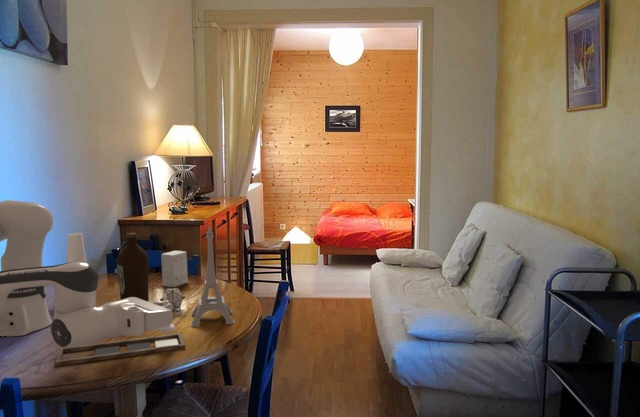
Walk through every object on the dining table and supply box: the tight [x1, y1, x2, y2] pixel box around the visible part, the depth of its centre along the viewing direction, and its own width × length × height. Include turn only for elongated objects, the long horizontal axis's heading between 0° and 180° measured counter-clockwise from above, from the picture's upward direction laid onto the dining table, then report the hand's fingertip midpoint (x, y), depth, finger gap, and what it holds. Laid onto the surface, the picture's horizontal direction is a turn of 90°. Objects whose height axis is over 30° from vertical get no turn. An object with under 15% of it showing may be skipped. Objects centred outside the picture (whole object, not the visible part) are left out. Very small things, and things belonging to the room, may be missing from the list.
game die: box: [159, 285, 186, 311], centre depth 178 cm, size 9×8×10 cm
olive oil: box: [116, 232, 150, 302], centre depth 186 cm, size 11×11×25 cm
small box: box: [160, 250, 189, 288], centre depth 212 cm, size 8×6×13 cm
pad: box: [154, 338, 179, 348], centre depth 147 cm, size 6×7×1 cm
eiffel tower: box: [190, 226, 235, 328], centre depth 168 cm, size 13×13×30 cm
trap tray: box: [55, 332, 186, 367], centre depth 143 cm, size 32×10×1 cm, turn 111°
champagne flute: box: [66, 232, 88, 263], centre depth 191 cm, size 7×7×24 cm
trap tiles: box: [94, 342, 151, 356], centre depth 143 cm, size 14×7×1 cm, turn 111°
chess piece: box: [156, 293, 176, 333], centre depth 146 cm, size 5×5×10 cm
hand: (168, 305), depth 146 cm, fingers closed on chess piece
